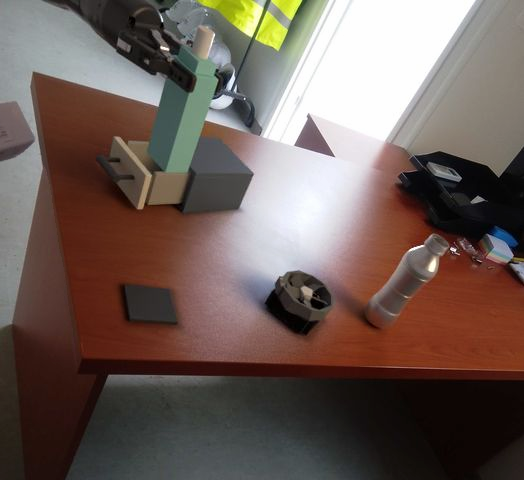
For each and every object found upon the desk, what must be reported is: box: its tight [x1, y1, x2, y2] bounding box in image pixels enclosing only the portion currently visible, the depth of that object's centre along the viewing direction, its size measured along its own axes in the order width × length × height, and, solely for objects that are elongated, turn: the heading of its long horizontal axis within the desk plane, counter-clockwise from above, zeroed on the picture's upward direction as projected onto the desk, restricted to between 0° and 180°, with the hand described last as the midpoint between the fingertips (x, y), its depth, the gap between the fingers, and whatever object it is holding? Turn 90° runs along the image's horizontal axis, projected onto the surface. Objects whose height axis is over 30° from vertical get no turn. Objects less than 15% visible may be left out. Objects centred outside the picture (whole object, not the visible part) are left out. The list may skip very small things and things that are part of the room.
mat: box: [123, 283, 179, 325], centre depth 67 cm, size 7×7×1 cm
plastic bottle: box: [364, 233, 450, 329], centre depth 84 cm, size 6×7×20 cm
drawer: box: [95, 136, 193, 210], centre depth 83 cm, size 18×11×7 cm, turn 132°
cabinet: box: [175, 135, 255, 214], centre depth 91 cm, size 15×13×9 cm
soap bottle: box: [147, 24, 218, 173], centre depth 63 cm, size 4×5×18 cm
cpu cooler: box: [264, 269, 335, 337], centre depth 80 cm, size 10×6×10 cm
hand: (206, 86), depth 60 cm, fingers closed on soap bottle, 5 cm apart
